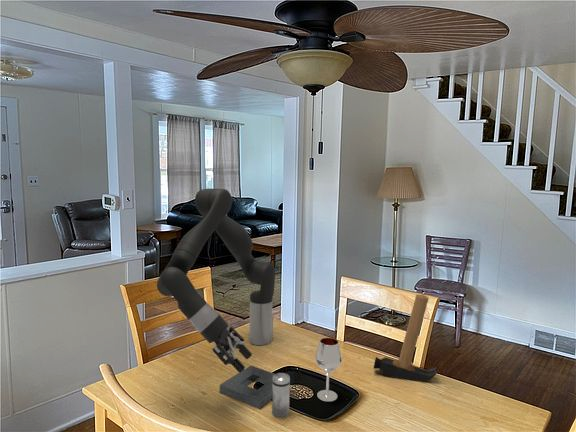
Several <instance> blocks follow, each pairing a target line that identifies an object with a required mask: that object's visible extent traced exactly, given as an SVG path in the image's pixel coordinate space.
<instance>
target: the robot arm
mask: <svg viewBox="0 0 576 432" xmlns="http://www.w3.org/2000/svg"><path fill="white" fill-rule="evenodd" d="M194 204H195V207H196V210H197V211H198V213H199V214H200V215H201V217H203V219H202V220H201V221H200V222H198V223H197V224H196V225H194V226H193V227H192V228H191V229H189V231H188V232H186V233H185V234H184V235H183V236H182V238H181V239H180V241H179V243H178V244H177V246H176V248H175V249H174V251H173V253H172V255H171V258H170V260H169V261H168V263H167V265H166V266H165V268H164V270H163V271H162V272H161V273H160V274H159V277H158V279H157V281H156V288H157V289H156V290H157V291H158V292H159V293H160V294H161V295H162V296H165V297H173V298H174V299H175V301H176V302H177V307H178V309H179V310H180V312H181V313H182V314H183V315H184V316H185V317H186V319H188V320H189V322H190V323H191V324H192V326H193V327H194V329H196V331H197V332H198V333H199V334H200V335H201V336H202V337H203V338H204V339H205V340H206V341H207V343H208V344H211V343H214V344H215V346H214V347H213V348H212V352H213V353H214V354H215V355H216V356H217V357H218V359H219V360H220V361H221V362H222V363H223V364H224V366H228V365H231V366H232V367H233V368H234V369H235V370H236V371H237V373H240V372H242V371H243V370H244V369H246V366H244V364H243V363H242V362H241V361H240V360H239V359H238V358H237V357H236V354H235V350H238V351H239V353H240V354H241V355H242V356H243V357H244V358H245V359H246V360H249V358H251V357H252V355H253V354H252V352H251V351H250V350H249V349H248V347H247V346H245V343H244V341H245V338H244V337H243V336H242V335H241V334H240V333H239V332H238V331H237V330H236V329H235V328H234V327H233V326H230V327H229V324H228V323H227V321H226V320H225V319H224V318H223V317H222V316H221V315H220V314H219V312H218V311H217V310H216V309H215V308H214V307H213V306H212V305H210V304H209V303H208V302H207V301H206V300H205V298H203V297H202V296H201V294H199V293H198V291H197V290H196V288H195V286H194V285H193V283H192V281H191V280H190V278H189V277H188V273H189V271H190V269H191V268H192V267H193V266H194V264H195V263H196V262H197V261H196V260H198V257H199V255H200V253H201V252H202V249H204V246H205V244H206V243H207V242H208V240H209V238H210V237H211V236H212V234H213V233H214V232H216V234H217V235H218V236H219V238H220V239H221V240H222V241H223V243H224V244H225V247H226V248H227V249H228V251H229V252H230V253H231V254H232V256H233V258H234V259H235V261H236V262H237V263H238V264H239V266H240V268H241V271H242V272H243V274H244V277H245V278H246V279H247V281H249V283H252V284H255V285H260V286H259V287H260V288H259V290H254V291H252V292H251V293H250V294H249V295H250V296H249V331H248V332H249V333H248V334H249V343H250V344H251V345H256V346H266V345H269V344H270V343H272V340H273V339H274V335H273V334H274V317H273V301H274V300H273V298H274V294H275V283H276V282H275V281H276V268H275V266H274V264H273V263H271V262H265V261H259V260H257V259H255V257H254V256H253V255H252V251H253V247H254V246H253V244H254V243H253V239H252V238H251V235H250V234H249V232H248V231H247V230H246V229H245V227H244V226H243V225H242V224H241V223H239V222H237V221H235V220H234V219H233V218H231V217H229V216H228V213H229V212H230V210H231V209H232V205H233V199H232V194H231V192H229V190H228V189H225V188H203V189H200V190H198V191H197V192H196V194H195V197H194ZM227 328H228V329H227Z"/></svg>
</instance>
